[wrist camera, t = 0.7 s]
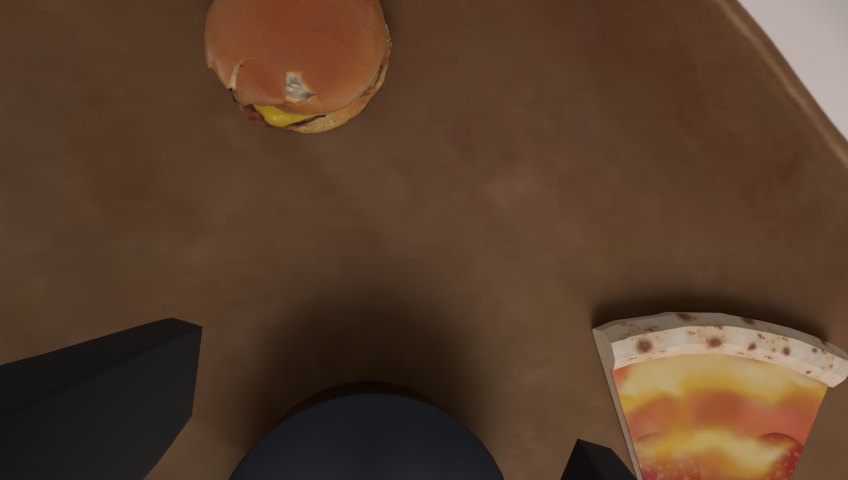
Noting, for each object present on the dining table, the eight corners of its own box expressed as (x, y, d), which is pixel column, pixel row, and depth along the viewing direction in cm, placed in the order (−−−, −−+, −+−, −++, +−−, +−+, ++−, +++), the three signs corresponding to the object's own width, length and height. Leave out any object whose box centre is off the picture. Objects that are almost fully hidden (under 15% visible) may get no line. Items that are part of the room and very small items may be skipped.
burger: (353, -39, 30) (354, -95, 25) (408, 104, 30) (419, 74, 25) (192, 7, 28) (160, -44, 24) (250, 158, 28) (230, 136, 24)
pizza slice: (476, 568, 29) (485, 590, 27) (635, 236, 31) (654, 234, 29) (696, 675, 30) (720, 703, 28) (828, 349, 33) (859, 354, 31)
